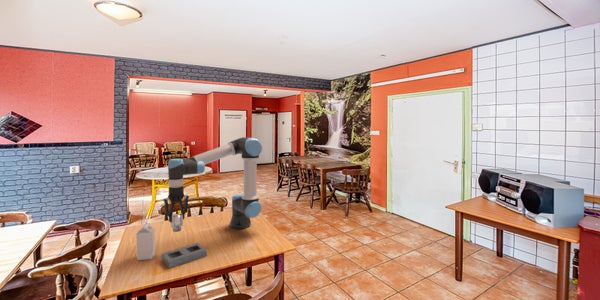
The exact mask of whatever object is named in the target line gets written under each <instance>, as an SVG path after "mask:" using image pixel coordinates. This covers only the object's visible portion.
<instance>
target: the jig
mask: <svg viewBox="0 0 600 300" xmlns="http://www.w3.org/2000/svg"><path fill="white" fill-rule="evenodd" d="M207 256H208V249H207V248H205V247H204V246H203V245H201V243H199V242H196V243H193V244H189V245H186V246H182V247H179V248H176V249H172V250H170V251H166V252H163V253H161V261H162V262H163V263H164V264H165V265H166V266H167V268H168V269H172V268H175V267H178V266H181V265H184V264H187V263H190V262H192V261H193V262H194V261H195V260H198V259H200V258H201V259H202V258H204V257H207Z"/></svg>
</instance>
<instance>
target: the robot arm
mask: <svg viewBox="0 0 600 300" xmlns="http://www.w3.org/2000/svg"><path fill="white" fill-rule="evenodd" d="M262 151H263V145H262V142H261V141H260V140H259V139H257V138H254V137H239V138H237V139H234V140H231V141H229V142H227V143H226V144H224V145H221V146H219V147H216V148H213V149H211V150H208V151H205V152H201V153H199V154H196V155H193V156H191V157H187V158H185V157H184V158H170V159H169V160H168V166H167V170H168V186H169V187H168V196H167V197H166V198H163V199H162V201H163V203H164V215H165V216H166V217H168V222H169V223H170V228H172V229H173V228H174V216H172V215H174V214H173V213H174V208H175V205H176V203H177V204H178V207H179V211H180V214H181V227H183V226H184V221H183V220H185V214H186V213H188V210H189V206H188V205H189V203H188V202H189V198H190V196H189V195H187V194H185V193H184V176H187V175H199V174H203V173H204V172H205V168H206V167H205V166H206V165H207V164H210V163H212V162H215V161H218V160H222V159H223V158H226V157H228V156H229V157H230V156H235V155H239V154H240V155H241V159H242V160H243V193H238V194H234V195H233V196H232V198H231V209H232V210H231V213H232V214H231V218H230V222H229V228H231V229H233V228H234V229H235V230H243V229H242V228H244V229H247V228H246V227H248V226H250V225H251V226H252V222H251V219H254V218H257V217H258V216H259V214H260V213H261V212H262V209H263V207H262V204H261V203H260V202H259V201H260V200H259V199H260V197H259V195H257V178H258V177H257V175H258V171H257V170H258V169H257V168H258V165H257V164H258V163H257V162H258V159H260V155H261V153H262ZM169 201H170V206H169ZM251 226H250V227H251ZM248 228H249V227H248ZM234 229H233V230H234Z"/></svg>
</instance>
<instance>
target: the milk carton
mask: <svg viewBox="0 0 600 300" xmlns="http://www.w3.org/2000/svg"><path fill="white" fill-rule="evenodd" d="M135 238H136V257H137V258H136V260H137V261H145V260H153V258H154V256H155V254H156V240H155V239H156V236H155V227H154V226H153V225H151V224H150V223H148V221H145V223H144V224H143V225H142V227H140V229H139V230H138V231H137V232H136V237H135Z"/></svg>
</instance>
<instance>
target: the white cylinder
mask: <svg viewBox="0 0 600 300" xmlns="http://www.w3.org/2000/svg"><path fill="white" fill-rule="evenodd" d="M172 216H174V228H172V232H173V233H177V232H181V231H182V226H181V213H175V214H173V215H172Z"/></svg>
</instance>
